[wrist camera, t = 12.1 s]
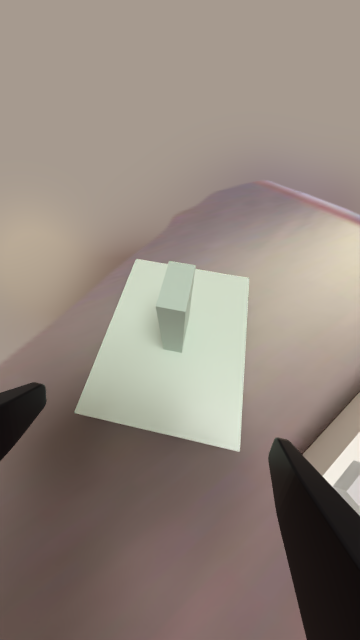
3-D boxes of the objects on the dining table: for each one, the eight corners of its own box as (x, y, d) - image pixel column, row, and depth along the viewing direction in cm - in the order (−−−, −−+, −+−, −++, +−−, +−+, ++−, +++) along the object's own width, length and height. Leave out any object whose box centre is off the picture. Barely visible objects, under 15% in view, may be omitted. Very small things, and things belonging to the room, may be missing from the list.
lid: (82, 413, 20) (-9, 409, 10) (138, 268, 28) (118, 189, 18) (234, 448, 18) (297, 483, 9) (244, 286, 27) (283, 213, 17)
